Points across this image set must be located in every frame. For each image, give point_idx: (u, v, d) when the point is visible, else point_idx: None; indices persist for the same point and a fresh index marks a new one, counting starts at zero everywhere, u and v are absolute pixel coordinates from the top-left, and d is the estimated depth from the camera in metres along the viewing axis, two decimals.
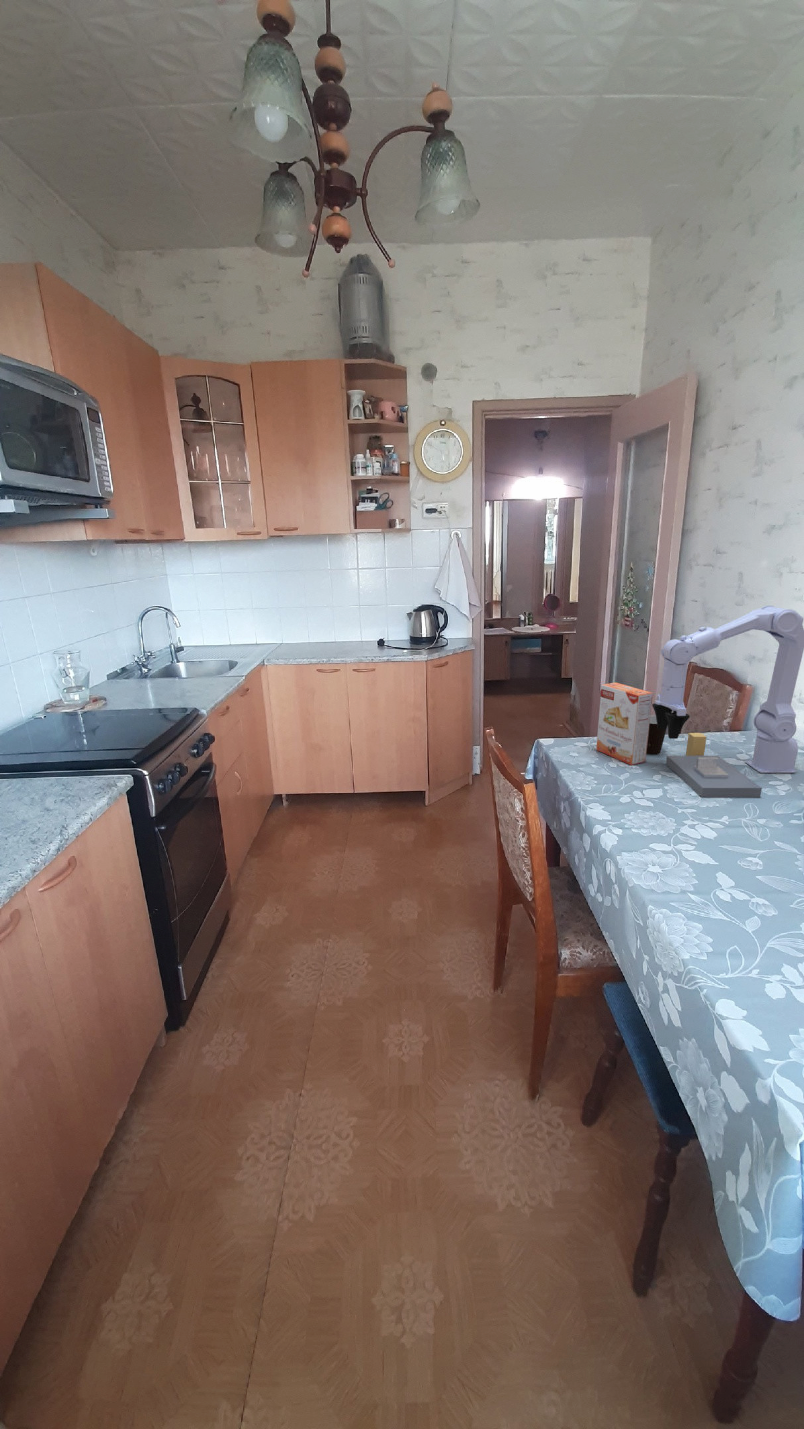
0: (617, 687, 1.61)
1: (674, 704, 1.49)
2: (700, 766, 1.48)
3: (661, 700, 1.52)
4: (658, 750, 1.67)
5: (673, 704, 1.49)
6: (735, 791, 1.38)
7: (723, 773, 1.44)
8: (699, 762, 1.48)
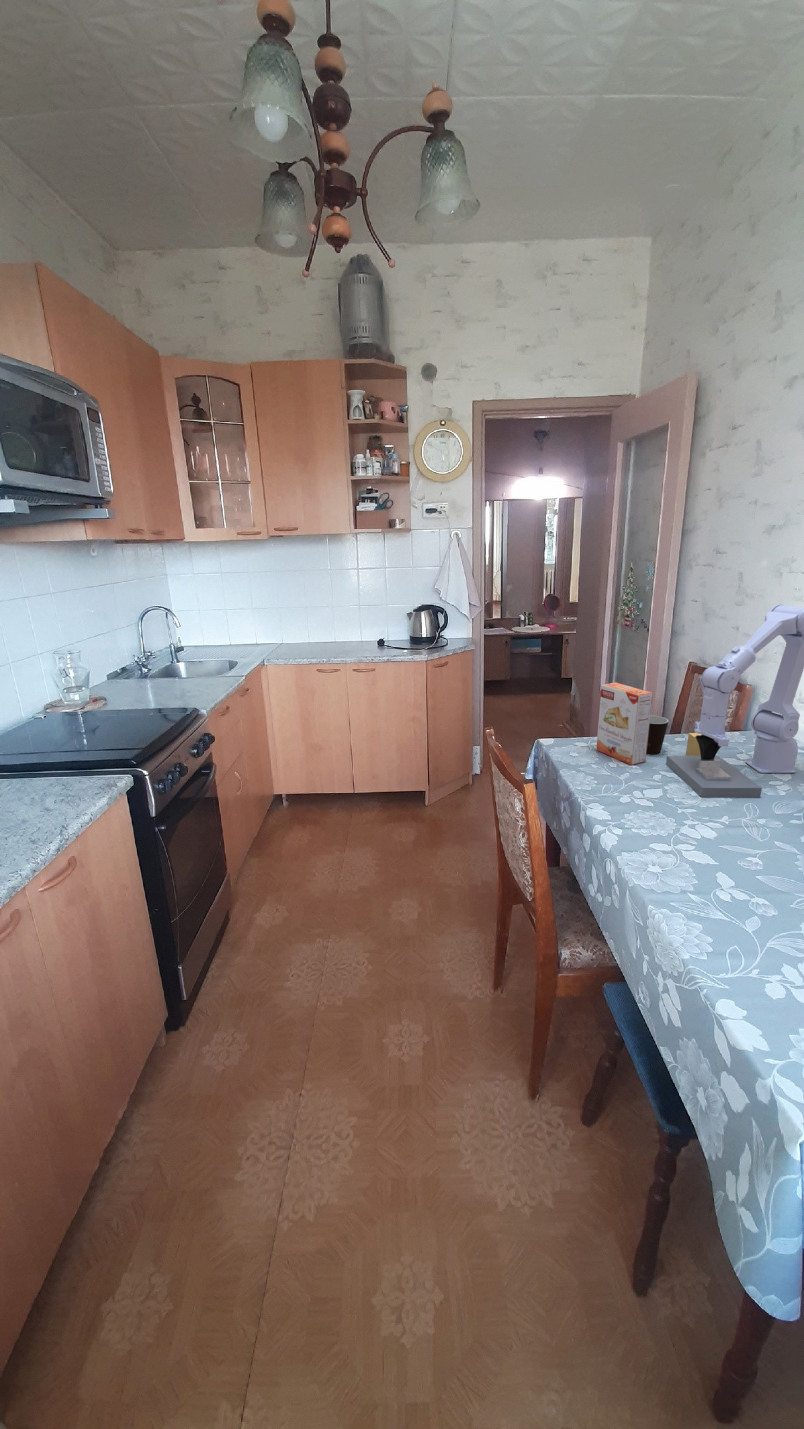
0: (617, 687, 1.61)
1: (715, 733, 1.43)
2: (702, 768, 1.47)
3: (701, 729, 1.46)
4: (658, 750, 1.67)
5: (714, 733, 1.44)
6: (735, 791, 1.38)
7: (726, 775, 1.43)
8: (701, 764, 1.47)
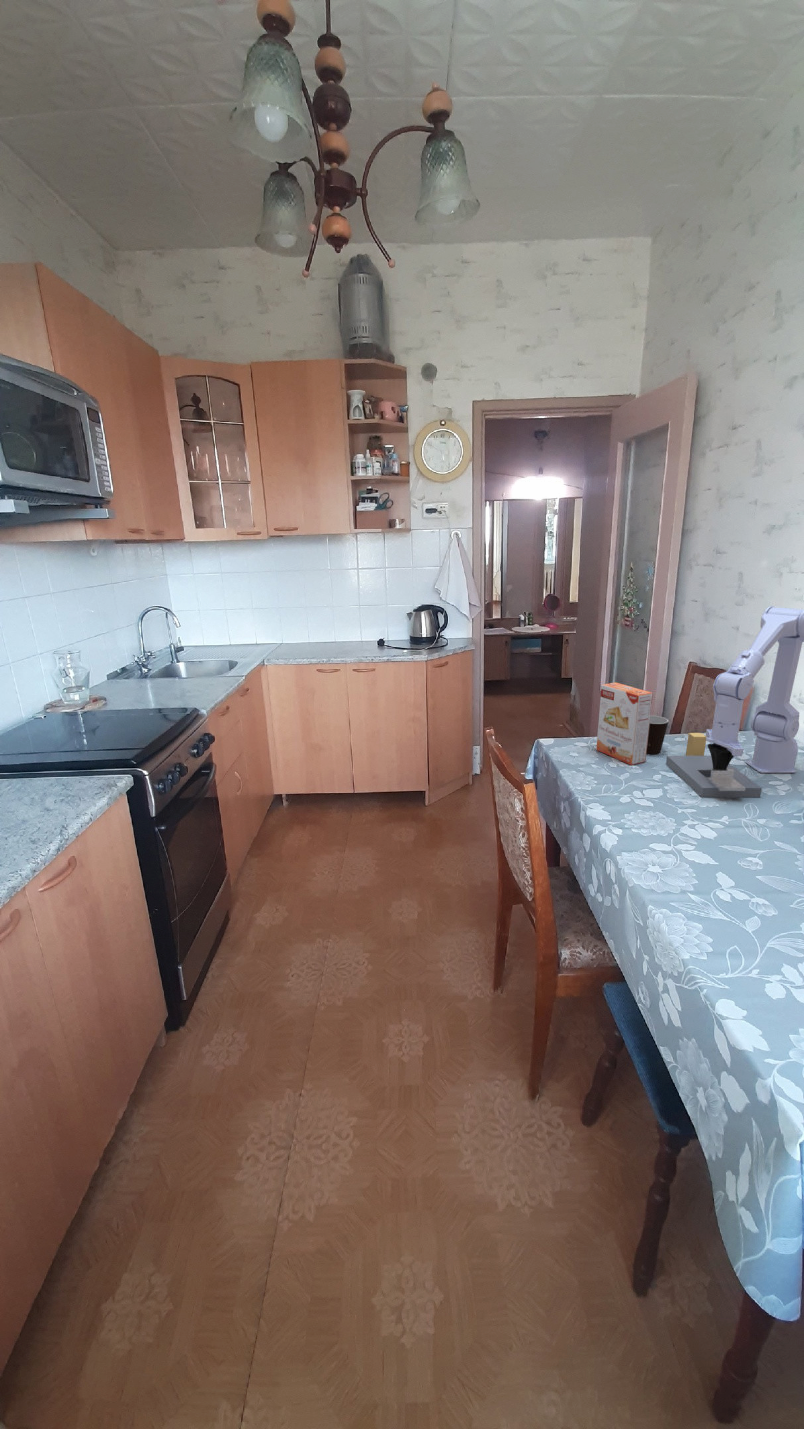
0: (617, 687, 1.61)
1: (728, 742, 1.37)
2: (715, 778, 1.41)
3: (713, 737, 1.39)
4: (658, 750, 1.67)
5: (727, 742, 1.37)
6: (735, 791, 1.38)
7: (740, 786, 1.37)
8: (714, 774, 1.41)
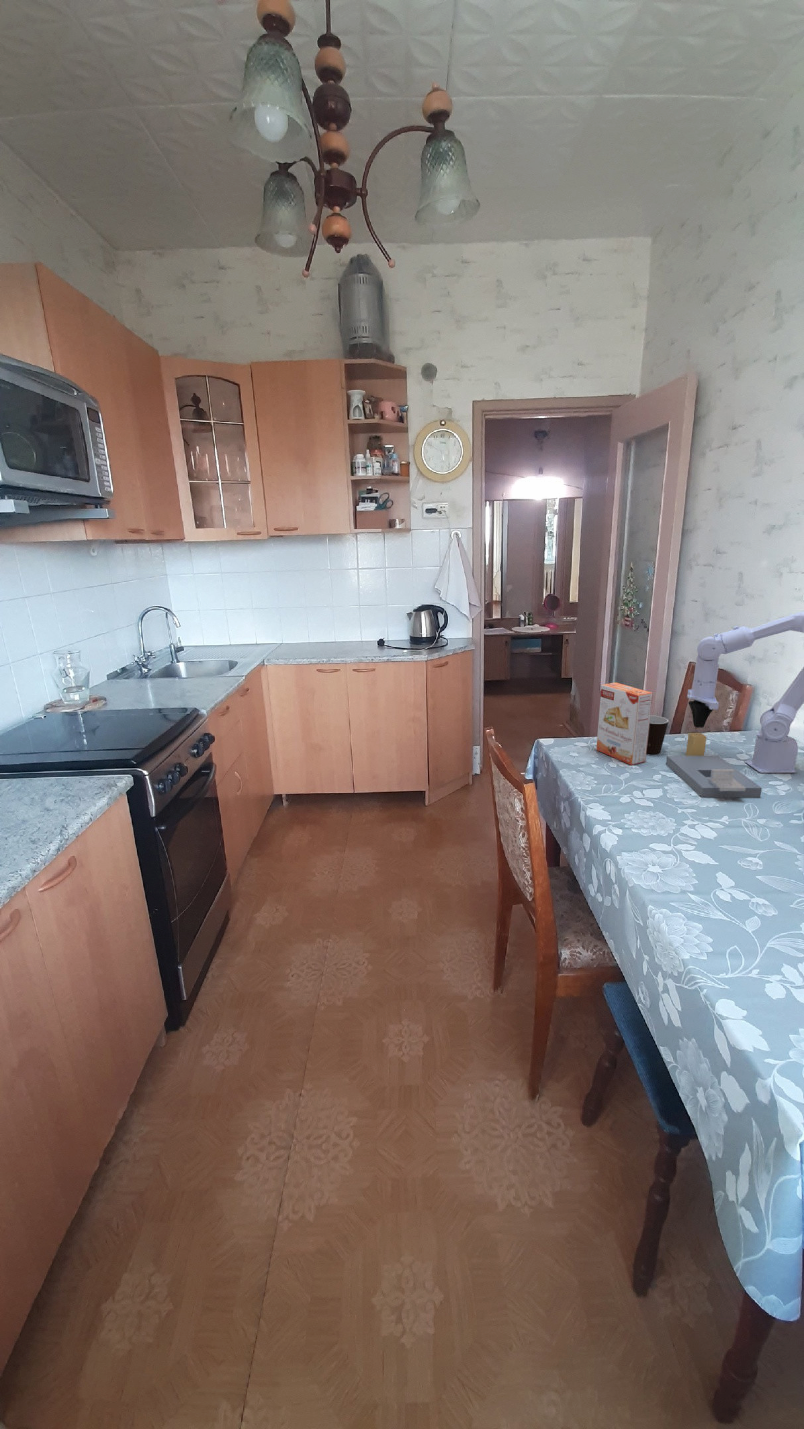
0: (617, 687, 1.61)
1: (706, 698, 1.56)
2: (715, 778, 1.41)
3: (693, 695, 1.59)
4: (658, 750, 1.67)
5: (705, 698, 1.56)
6: (735, 791, 1.38)
7: (740, 786, 1.37)
8: (714, 774, 1.41)
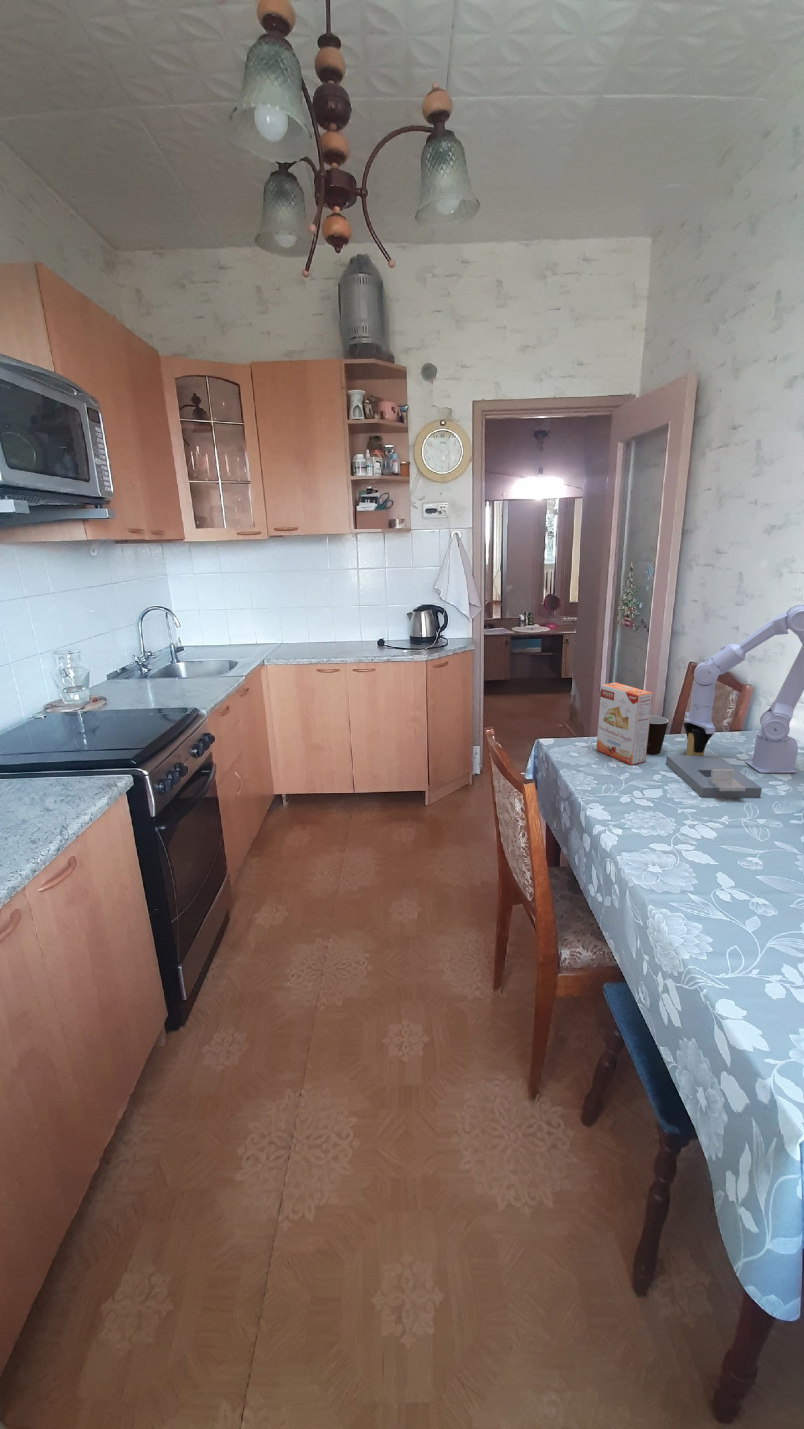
0: (617, 687, 1.61)
1: (703, 722, 1.58)
2: (715, 778, 1.41)
3: (690, 718, 1.61)
4: (658, 750, 1.67)
5: (702, 722, 1.58)
6: (735, 791, 1.38)
7: (740, 786, 1.37)
8: (714, 774, 1.41)
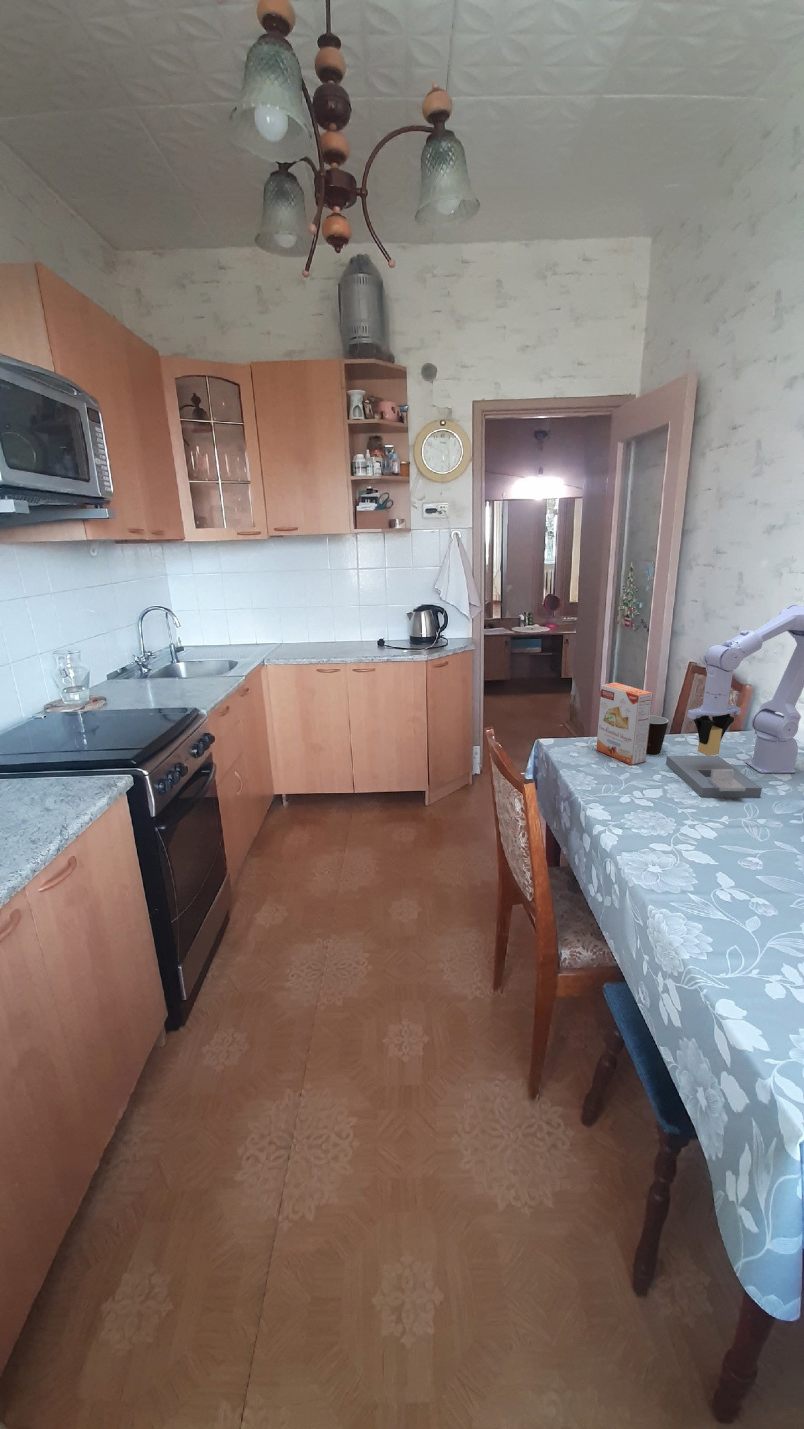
0: (617, 687, 1.61)
1: (703, 709, 1.46)
2: (715, 778, 1.41)
3: None
4: (658, 750, 1.67)
5: (703, 709, 1.46)
6: (735, 791, 1.38)
7: (740, 786, 1.37)
8: (714, 774, 1.41)
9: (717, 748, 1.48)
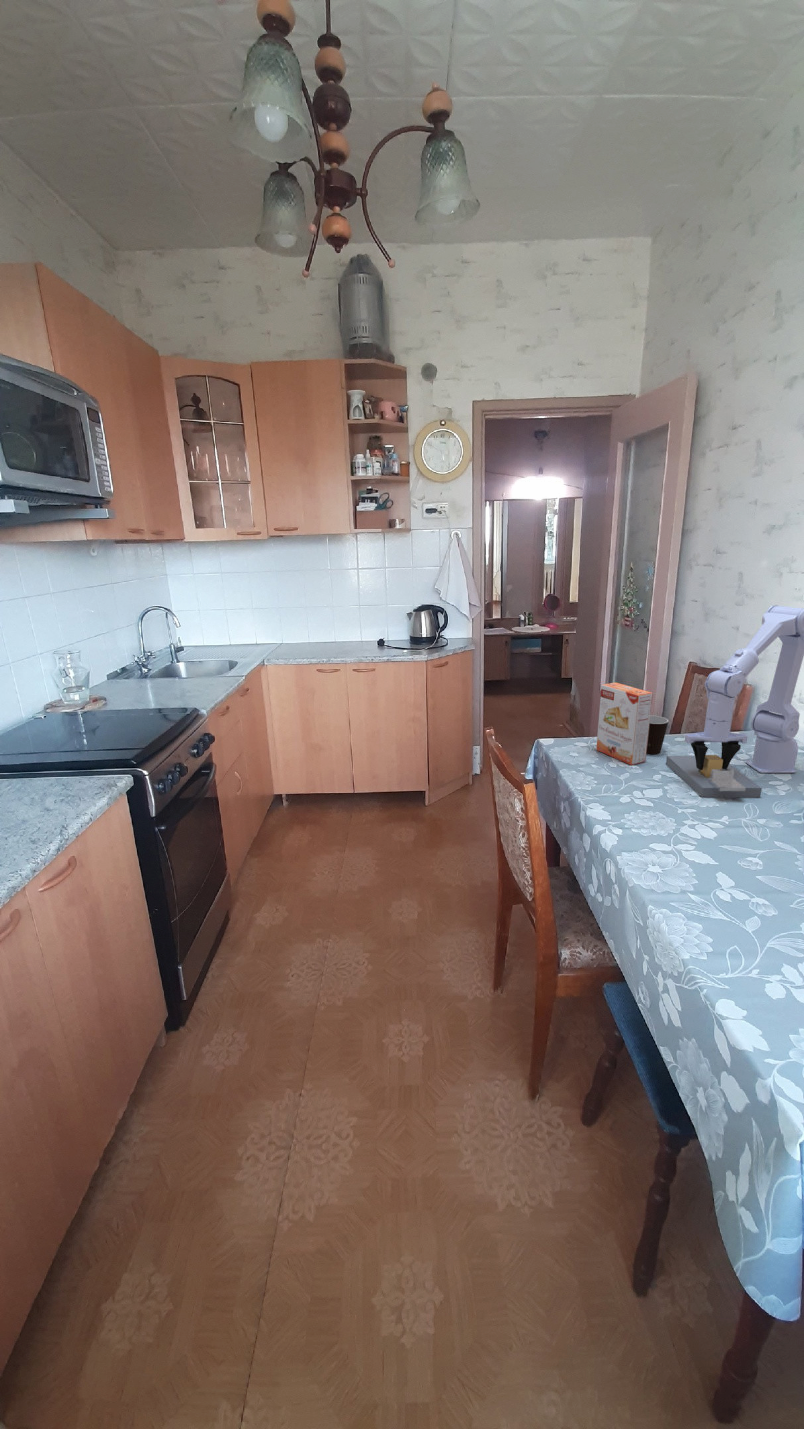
0: (617, 687, 1.61)
1: (703, 734, 1.44)
2: (715, 778, 1.41)
3: None
4: (658, 750, 1.67)
5: (703, 734, 1.44)
6: (735, 791, 1.38)
7: (740, 786, 1.37)
8: (714, 774, 1.41)
9: None
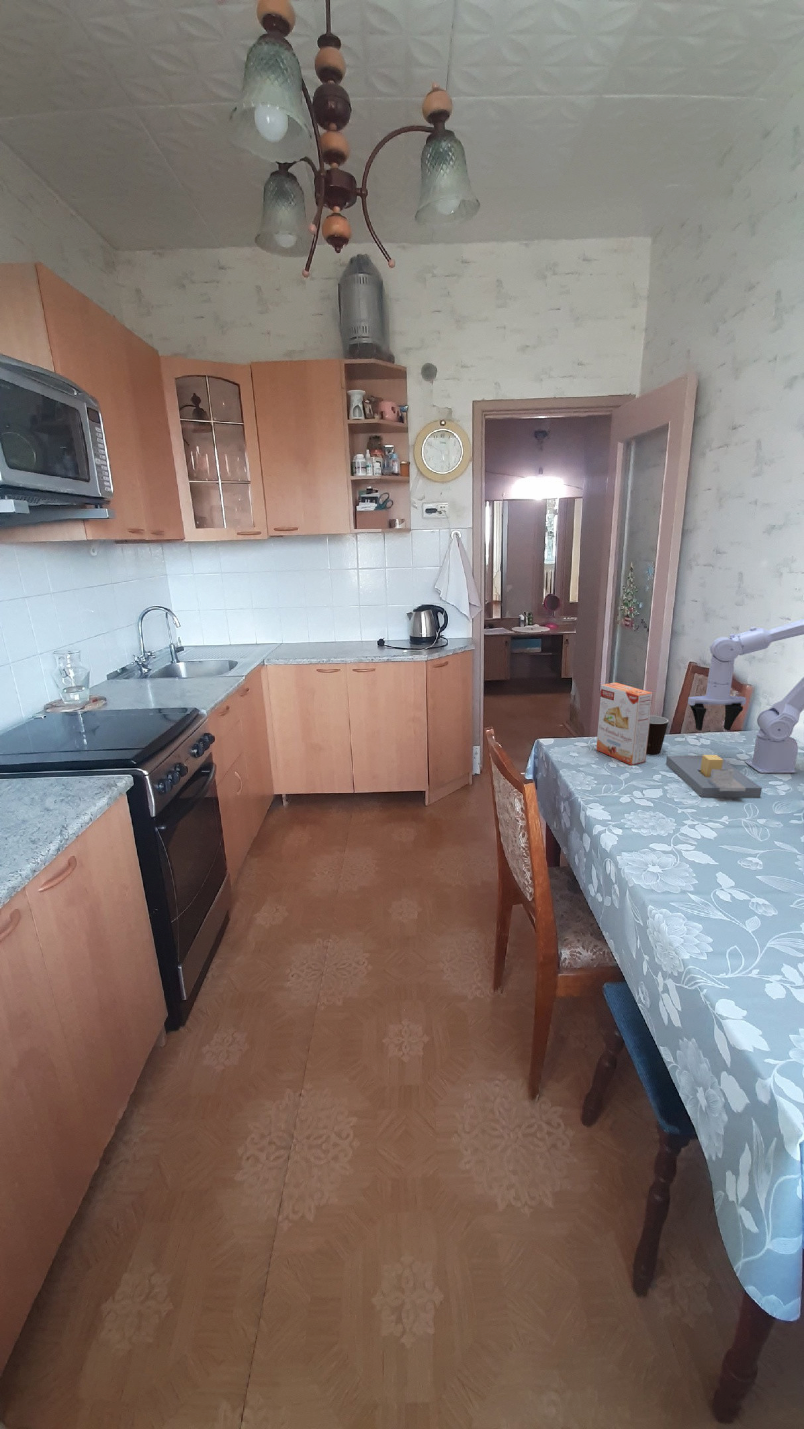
0: (617, 687, 1.61)
1: (705, 697, 1.56)
2: (715, 778, 1.41)
3: None
4: (658, 750, 1.67)
5: (705, 697, 1.56)
6: (735, 791, 1.38)
7: (740, 786, 1.37)
8: (714, 774, 1.41)
9: None
